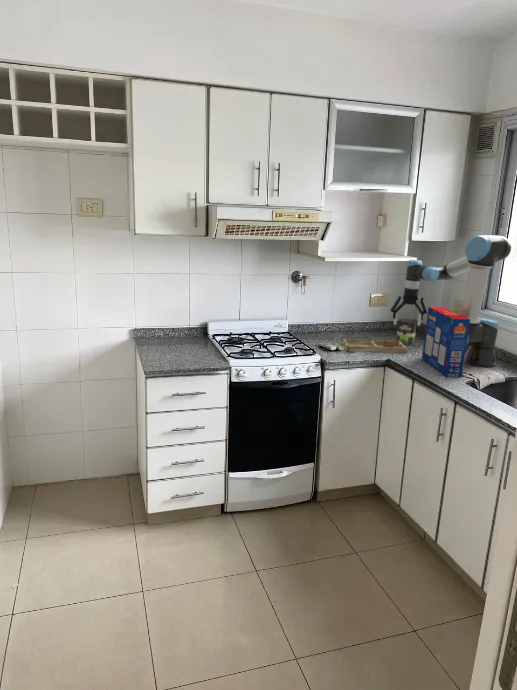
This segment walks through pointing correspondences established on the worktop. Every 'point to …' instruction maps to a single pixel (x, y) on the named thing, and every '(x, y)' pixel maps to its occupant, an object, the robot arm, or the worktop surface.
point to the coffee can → (406, 331)
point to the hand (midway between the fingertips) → (406, 324)
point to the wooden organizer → (372, 346)
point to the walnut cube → (388, 343)
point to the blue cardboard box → (445, 341)
